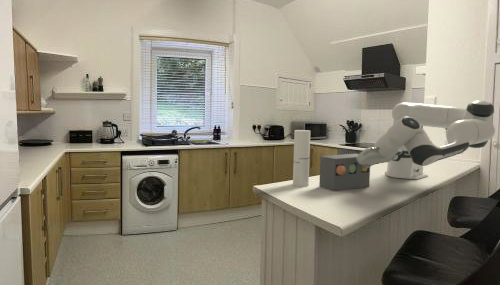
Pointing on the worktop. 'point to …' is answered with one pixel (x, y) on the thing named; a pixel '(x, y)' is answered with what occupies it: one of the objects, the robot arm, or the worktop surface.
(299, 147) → the cylindrical container
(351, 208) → the worktop surface
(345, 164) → the control panel
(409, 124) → the robot arm
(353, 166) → the sage green button
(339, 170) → the terracotta button
